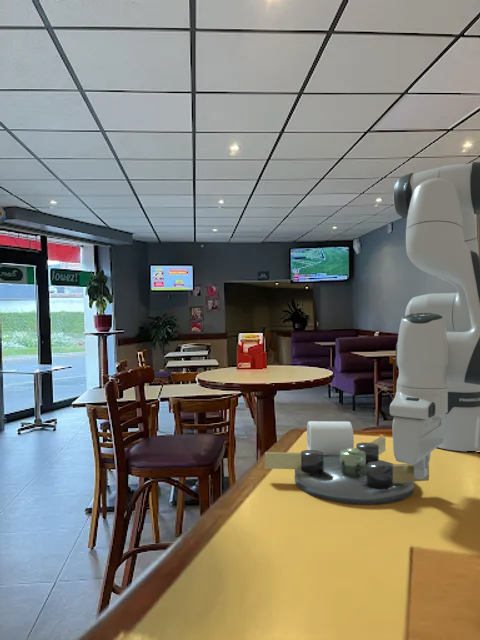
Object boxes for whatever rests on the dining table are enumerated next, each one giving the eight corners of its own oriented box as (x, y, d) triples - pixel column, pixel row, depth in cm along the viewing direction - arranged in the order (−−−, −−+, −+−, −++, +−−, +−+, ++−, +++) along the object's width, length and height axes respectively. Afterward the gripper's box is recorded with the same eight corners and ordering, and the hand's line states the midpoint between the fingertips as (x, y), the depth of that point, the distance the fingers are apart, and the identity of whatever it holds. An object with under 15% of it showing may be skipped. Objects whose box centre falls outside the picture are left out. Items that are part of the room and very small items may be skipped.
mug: (353, 460, 114) (354, 425, 114) (310, 460, 114) (310, 425, 114) (344, 446, 126) (344, 415, 126) (304, 446, 126) (304, 414, 126)
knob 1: (323, 466, 102) (323, 450, 102) (324, 473, 97) (324, 456, 97) (265, 465, 103) (265, 448, 103) (264, 472, 98) (264, 455, 98)
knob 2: (374, 465, 102) (374, 449, 102) (353, 462, 105) (353, 446, 105) (392, 452, 112) (392, 437, 112) (373, 449, 114) (373, 434, 114)
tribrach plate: (362, 459, 114) (362, 431, 114) (440, 492, 93) (440, 457, 93) (274, 473, 104) (274, 442, 104) (339, 513, 84) (339, 474, 84)
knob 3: (373, 488, 89) (373, 469, 89) (362, 480, 93) (362, 462, 93) (433, 484, 91) (433, 466, 91) (420, 476, 95) (420, 458, 95)
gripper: (419, 393, 101) (419, 461, 101) (386, 407, 84) (385, 488, 84) (452, 396, 97) (452, 467, 97) (424, 411, 81) (423, 496, 81)
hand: (420, 477), depth 91 cm, fingers closed
